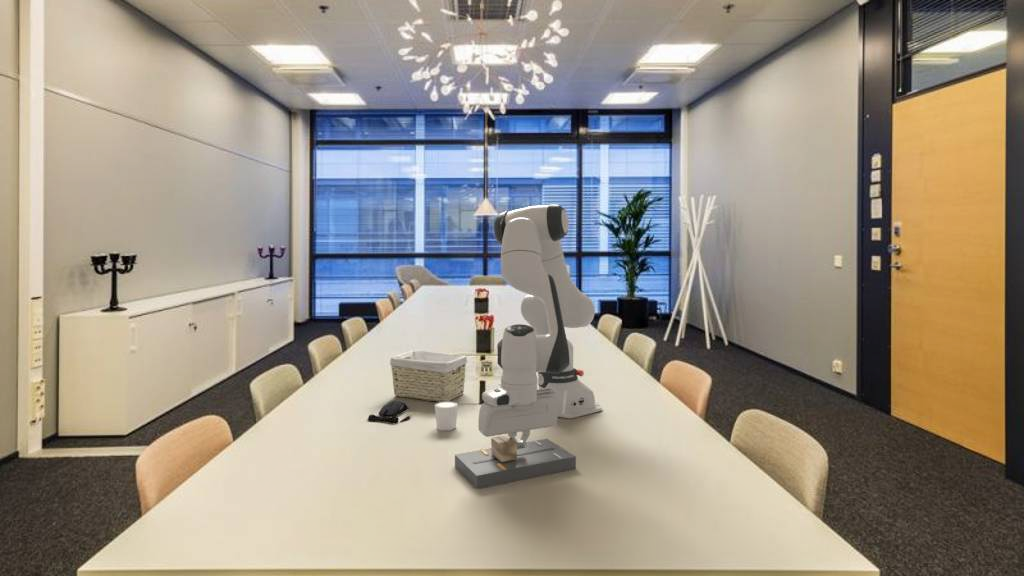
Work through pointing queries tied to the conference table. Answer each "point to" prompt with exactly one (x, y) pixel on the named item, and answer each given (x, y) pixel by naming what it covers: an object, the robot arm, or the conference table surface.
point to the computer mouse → (390, 412)
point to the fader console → (514, 464)
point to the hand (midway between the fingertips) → (518, 448)
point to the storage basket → (428, 375)
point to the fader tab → (504, 448)
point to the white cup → (446, 415)
